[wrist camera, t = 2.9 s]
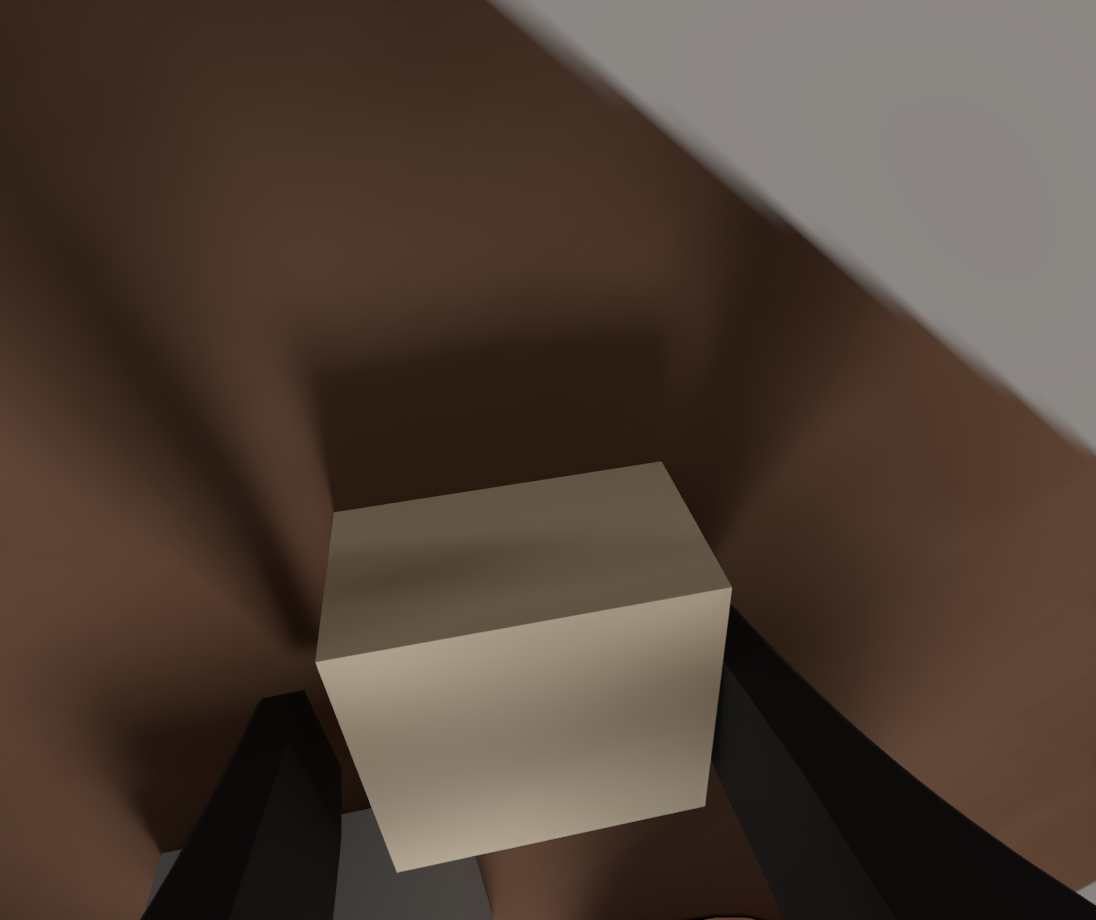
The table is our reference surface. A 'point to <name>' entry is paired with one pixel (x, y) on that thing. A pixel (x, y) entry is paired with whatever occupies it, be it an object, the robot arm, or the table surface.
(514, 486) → the oak block
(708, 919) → the pepper shaker
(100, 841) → the table surface
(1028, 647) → the table surface
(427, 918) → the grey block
